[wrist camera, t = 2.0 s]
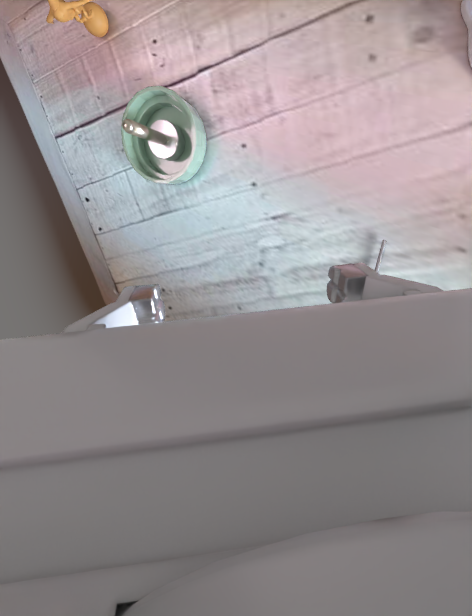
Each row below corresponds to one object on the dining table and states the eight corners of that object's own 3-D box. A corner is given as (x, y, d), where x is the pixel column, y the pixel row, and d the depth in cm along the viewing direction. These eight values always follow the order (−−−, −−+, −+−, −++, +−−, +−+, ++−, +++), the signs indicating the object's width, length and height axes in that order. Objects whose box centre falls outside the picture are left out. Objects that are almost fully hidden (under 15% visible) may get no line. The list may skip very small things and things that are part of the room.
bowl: (145, 85, 48) (127, 73, 43) (216, 112, 46) (206, 103, 42) (132, 169, 54) (116, 166, 50) (195, 195, 53) (184, 195, 48)
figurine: (119, 1, 44) (57, -62, 33) (130, 46, 46) (75, 1, 35) (80, 22, 47) (11, -30, 36) (93, 64, 49) (31, 26, 38)
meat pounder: (159, 118, 49) (109, 92, 37) (188, 130, 48) (147, 107, 36) (153, 154, 52) (104, 140, 39) (181, 165, 51) (139, 155, 39)
